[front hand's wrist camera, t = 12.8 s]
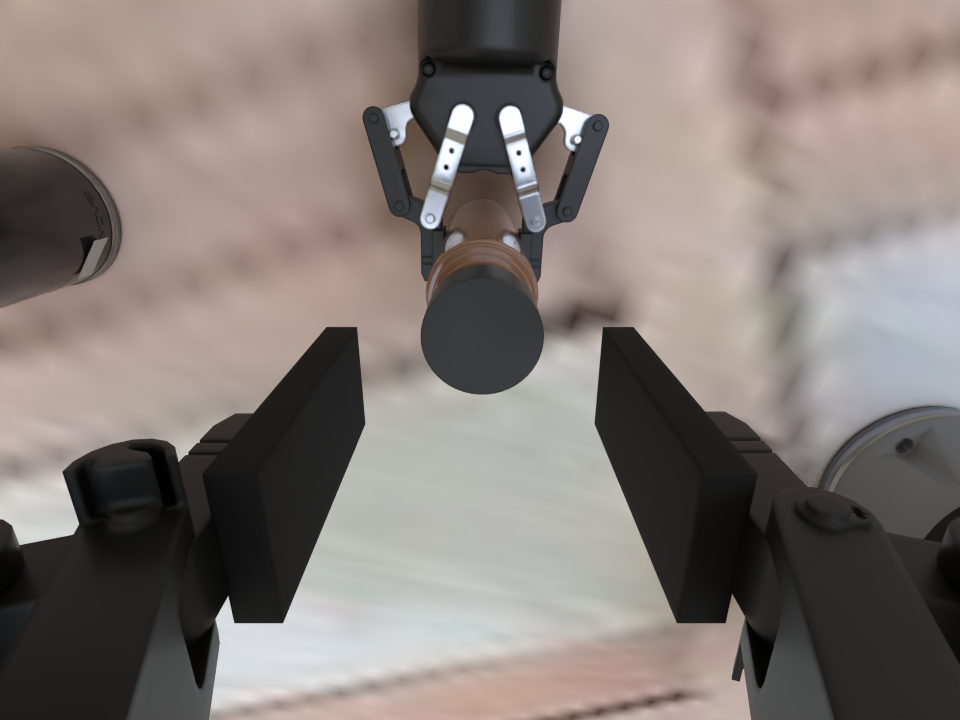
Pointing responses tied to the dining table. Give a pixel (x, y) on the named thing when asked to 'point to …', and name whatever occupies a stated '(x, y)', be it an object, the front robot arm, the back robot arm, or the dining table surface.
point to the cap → (482, 330)
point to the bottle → (481, 245)
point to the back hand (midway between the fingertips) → (480, 288)
